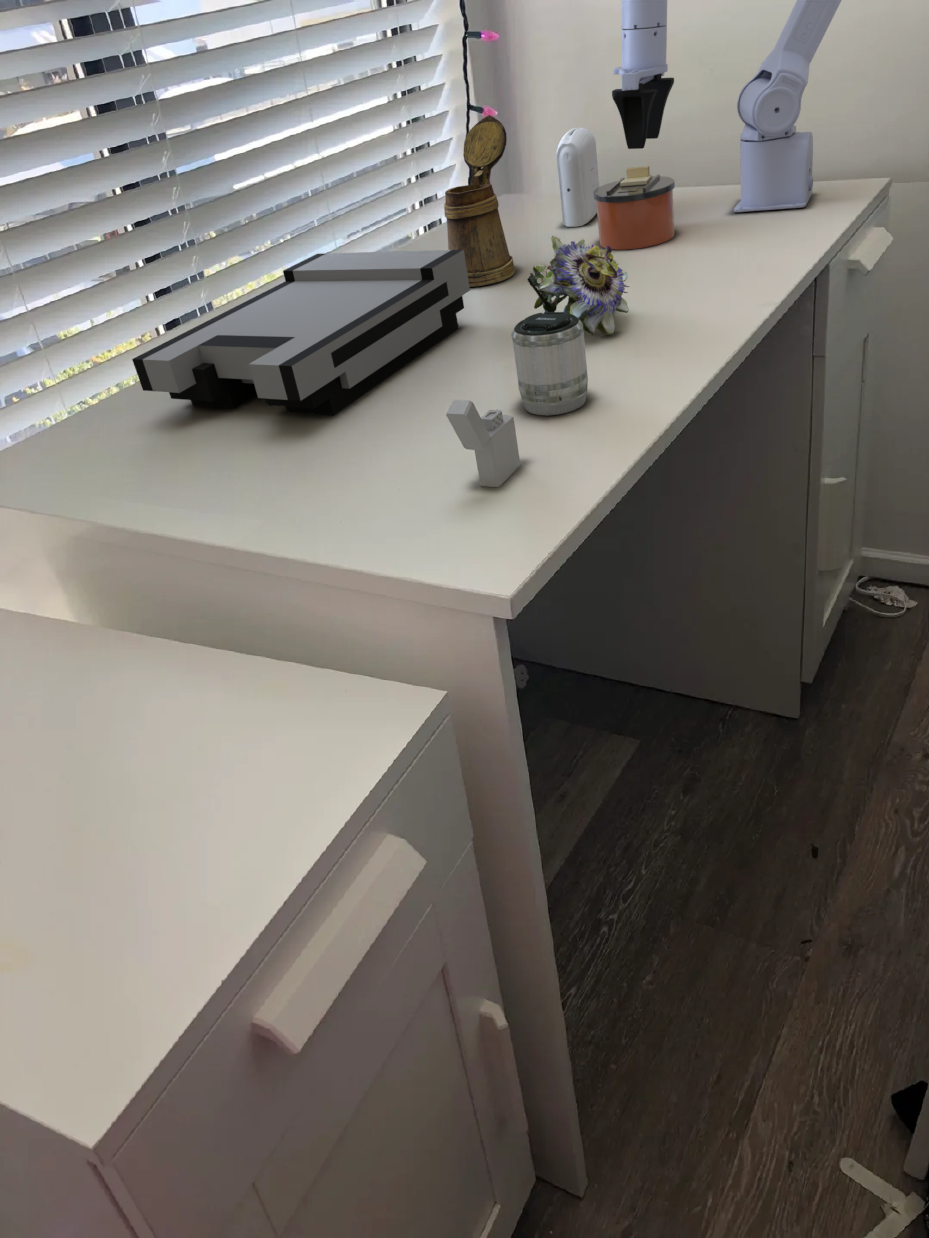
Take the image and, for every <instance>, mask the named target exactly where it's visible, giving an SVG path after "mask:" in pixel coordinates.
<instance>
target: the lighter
mask: <svg viewBox="0 0 929 1238" xmlns="http://www.w3.org/2000/svg"><path fill="white" fill-rule="evenodd" d="M445 416H446V418H447V420H448V421H449V423H450V425H451V427H452V428H453V430H454V433H455V434H456V436H457V437H458V438H457V439H459V441H460V443H461V445H462V447H463V449H465V450H471V451H474V455H475V462H476V466H477V472H478V480H479V485H480V486H481V487H488V488H499V487H501V486H502V485H503V484H504V483H505V482H506V481H507V480H508V479H509V478H510V477H511V476H512V475H513V474H514V473H515V472H516V471H517V470H518V469H519V468H520V467H521V459H520V452H519V445H518V439H517V431H516V424H515V418H514V415H512V414H503V410H501V409H498V408H496V409H489V410H487V411H486V412H485V413H484V414H483V415H482V416H481V415H480V414H479V412H478V410H477V408H476V406H475V404H474V402H473V401H472V400H469V399H453V400H452V401H451V403H450V405H449V408H448V410H447V411H446V414H445Z"/></svg>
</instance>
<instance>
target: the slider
mask: <svg viewBox="0 0 929 1238" xmlns="http://www.w3.org/2000/svg"><path fill="white" fill-rule="evenodd" d="M650 171H651V170H650V165H644V166H643V165H642V166H634V167H633V166H632V167H627V168H625V172H626V177H624V178H625V179H624V180H623V181H622V182H620V186H633V185H644V184H648V183H649V182H650V181H651V180H652V176H653V175H652V174H651V173H650Z"/></svg>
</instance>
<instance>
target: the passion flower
mask: <svg viewBox="0 0 929 1238" xmlns="http://www.w3.org/2000/svg"><path fill="white" fill-rule="evenodd" d="M550 239H551V244H552V245H551V246H552V249H553V253H554V254H553V256H554V258H552V259H551V260H550V261H549V265H548V266H546V265H543V264H542V265H538V264H536V265H533V267H532V270H533V272H530V273H529V275H528V278H527V279H526V280H527V282H528V283H529V285H530V287H531V288H532V289H533V290H534V291H535V293H536V294H537V296H538V297H537V299H535V302H534V305H533V308H534V309H535V310H537V309H538V308H540V307H541V306H542V308H543V310H544V312H557V307H558V305H559V304H560V303H561V302H562V301H563V300H565V299H566V298H567V297H568V298H567V299H568V300H567V303H566V305H565V306H564V307H563V311H562V312H564V313H568V314H572V315H574V316H576V317H578V318H579V320H580V321H581V322H582V324H583V331H585V332H586V333H588V334H589V335H591V336H594V334H595V333H596V330H597V331H599V332H600V333H602V334H604V335H606V336H612V335H613V334H614V331H615V327H616V325H615V317H614V314H615V312H619V313H623V314H627V313H629V312H630V307H629V305H628V301H626V299H625V298H624V297H622V296H623V294H629V291H625V290H626V288H630V286H629V285H627V284H625V283H624V282H626V280H627V279H628V271H626V270H623V269H622V268H621V267H619V263H617V261H616V260H615V259H614V254H612V252H613V249H611V247H610V246H605V248H604V249H600V247H599V246H598V245H594V244H591V247H590V246H589V245H588V246H587V245H586V242H585V241H586V240H585V239H584V238H580V239H579V240H578V241H577V242H575V241H574V240H572V241H570V244H569V243H568V244H566V243H563V242H562V241H561V238H560V237H558V236H555V235H552V236H551V238H550ZM548 270H549V271H548ZM543 272H544V273H545V276H544V274H543ZM538 279H540V280H541V282H538ZM553 298H554V299H553Z"/></svg>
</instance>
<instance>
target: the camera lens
mask: <svg viewBox="0 0 929 1238" xmlns="http://www.w3.org/2000/svg"><path fill="white" fill-rule="evenodd" d="M511 340H512V347H513V354H514V362H515V369H516V370H515V371H516V378H517V386H518V391H519V395H520V398H521V401H522V402H523V406H524V409H525V410H526V412H528V413H530V414H533V415H537V416H546V417H547V416H556V415H557V416H558V415H563V414H568V413H570V412H574V411H575V410H578V409H579V408H581V407H582V406H584V405H585V403H586V401H587V393H588V385H589V381H588V380H589V375H588V367H587V366H588V365H587V364H588V363H587V356H586V345H585V344H586V343H585V333H584V329H583V324H582V322H581V321H580V320H579V318H578V317H576V316H574V315H572V314H568V313H564V312H563V311H555V312H545V311H544V312H543V313H542V312H537V313H534V314H532V315H528V316H527V317H525V318H524V319H522V320H520V321H519V322H518V323H517V324H516V325H515V326H514V327H513V329H512V332H511Z"/></svg>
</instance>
